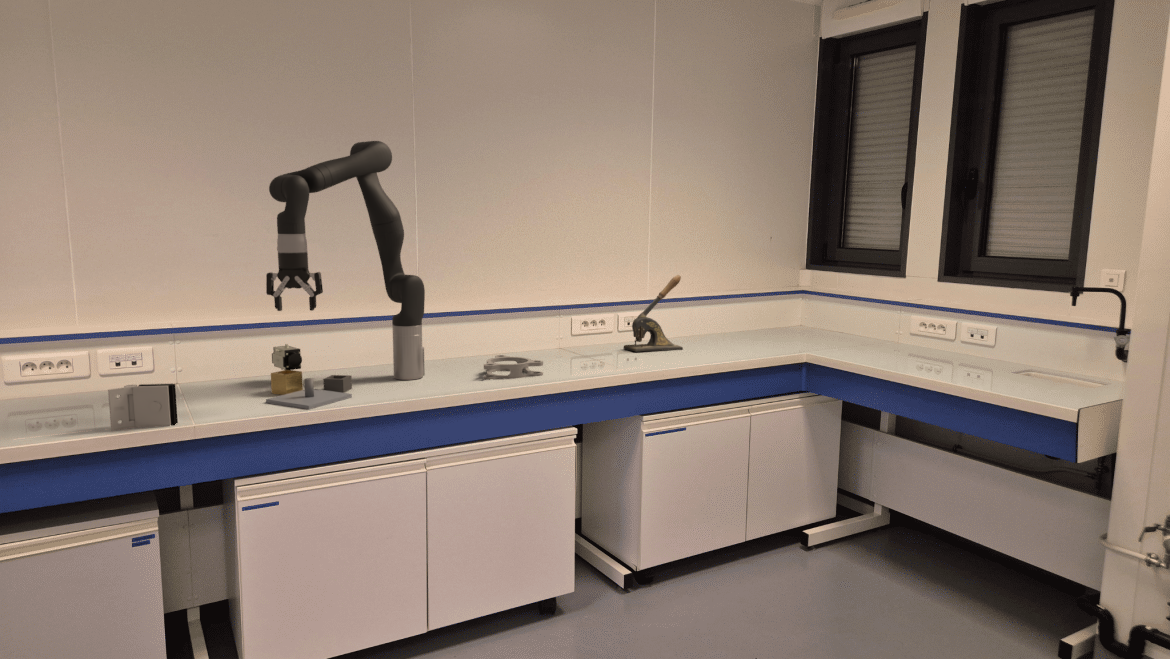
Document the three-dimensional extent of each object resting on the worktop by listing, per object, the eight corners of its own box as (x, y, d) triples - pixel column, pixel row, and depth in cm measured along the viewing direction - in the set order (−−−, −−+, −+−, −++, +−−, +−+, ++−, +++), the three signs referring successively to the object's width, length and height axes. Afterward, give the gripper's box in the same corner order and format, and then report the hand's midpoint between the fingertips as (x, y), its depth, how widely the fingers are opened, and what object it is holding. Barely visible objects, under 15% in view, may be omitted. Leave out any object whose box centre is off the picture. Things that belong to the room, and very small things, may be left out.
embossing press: (621, 349, 305) (623, 274, 300) (673, 345, 314) (675, 273, 310) (634, 353, 295) (635, 276, 290) (686, 350, 304) (688, 275, 300)
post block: (310, 391, 222) (309, 371, 221) (351, 397, 215) (351, 376, 214) (266, 402, 208) (265, 381, 207) (309, 409, 201) (308, 387, 200)
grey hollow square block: (332, 387, 227) (332, 374, 227) (351, 388, 227) (351, 375, 226) (323, 392, 221) (323, 378, 221) (343, 392, 221) (343, 379, 220)
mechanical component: (486, 381, 240) (486, 366, 240) (470, 371, 258) (470, 356, 257) (545, 377, 249) (545, 362, 248) (526, 367, 266) (526, 353, 265)
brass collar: (287, 389, 225) (287, 369, 224) (302, 391, 222) (301, 371, 221) (271, 393, 219) (270, 373, 219) (286, 395, 217) (285, 375, 216)
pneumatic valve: (287, 378, 240) (286, 341, 239) (303, 384, 232) (302, 345, 231) (270, 380, 237) (268, 343, 235) (286, 386, 228) (284, 347, 227)
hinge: (110, 431, 178) (107, 390, 177) (114, 426, 183) (111, 385, 182) (176, 425, 184) (174, 385, 183) (179, 420, 189) (176, 381, 187)
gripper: (323, 250, 207) (326, 308, 210) (269, 250, 206) (273, 309, 208) (316, 251, 200) (319, 311, 202) (260, 251, 199) (264, 312, 201)
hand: (295, 310), depth 205 cm, fingers open, 8 cm apart
